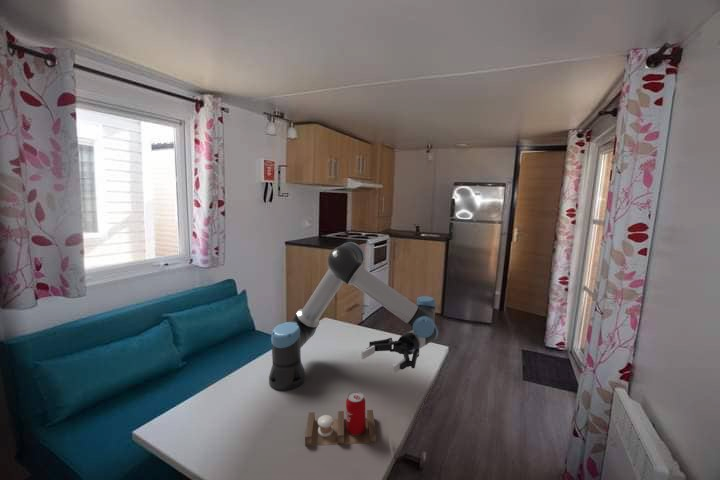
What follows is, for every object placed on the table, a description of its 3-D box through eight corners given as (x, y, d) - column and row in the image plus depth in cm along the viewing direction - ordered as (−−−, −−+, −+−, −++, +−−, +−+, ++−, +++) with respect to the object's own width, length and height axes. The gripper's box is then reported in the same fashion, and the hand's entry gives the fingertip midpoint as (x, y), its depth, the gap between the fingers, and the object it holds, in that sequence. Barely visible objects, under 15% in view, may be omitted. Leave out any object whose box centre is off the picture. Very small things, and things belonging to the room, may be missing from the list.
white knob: (317, 437, 99) (317, 426, 99) (318, 426, 104) (318, 415, 104) (333, 437, 99) (332, 425, 99) (333, 425, 104) (333, 414, 104)
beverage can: (354, 420, 107) (354, 388, 105) (369, 428, 103) (369, 395, 101) (342, 431, 102) (342, 397, 100) (357, 440, 98) (357, 405, 96)
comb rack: (305, 448, 96) (304, 436, 96) (309, 423, 107) (308, 412, 106) (376, 445, 97) (376, 433, 97) (372, 420, 108) (372, 409, 108)
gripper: (439, 362, 114) (406, 387, 99) (386, 340, 131) (350, 359, 115) (440, 343, 113) (407, 365, 98) (386, 323, 130) (351, 340, 114)
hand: (376, 362), depth 107 cm, fingers open, 13 cm apart
